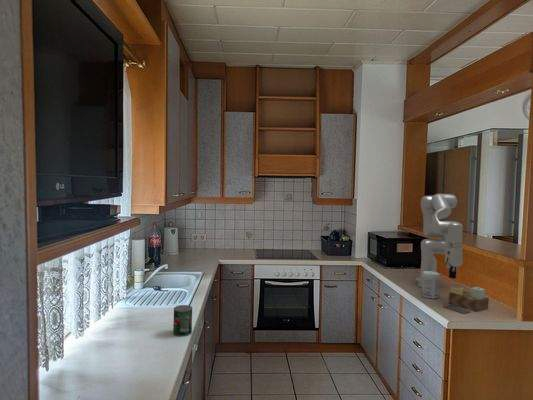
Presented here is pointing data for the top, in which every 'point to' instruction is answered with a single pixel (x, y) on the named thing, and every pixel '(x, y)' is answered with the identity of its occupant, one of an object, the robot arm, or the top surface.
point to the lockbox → (468, 301)
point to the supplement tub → (430, 284)
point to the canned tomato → (182, 320)
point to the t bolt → (458, 291)
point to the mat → (457, 309)
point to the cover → (477, 293)
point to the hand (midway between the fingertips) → (452, 277)
